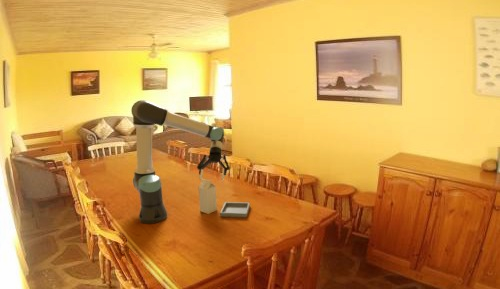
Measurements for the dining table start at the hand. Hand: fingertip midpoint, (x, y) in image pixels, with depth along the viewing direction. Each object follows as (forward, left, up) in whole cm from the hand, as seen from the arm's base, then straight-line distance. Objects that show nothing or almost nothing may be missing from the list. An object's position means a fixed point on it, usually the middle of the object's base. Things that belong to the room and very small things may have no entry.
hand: (211, 179), depth 180 cm
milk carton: (-1, -8, -17) cm, 18 cm away
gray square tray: (+15, -8, -17) cm, 24 cm away
